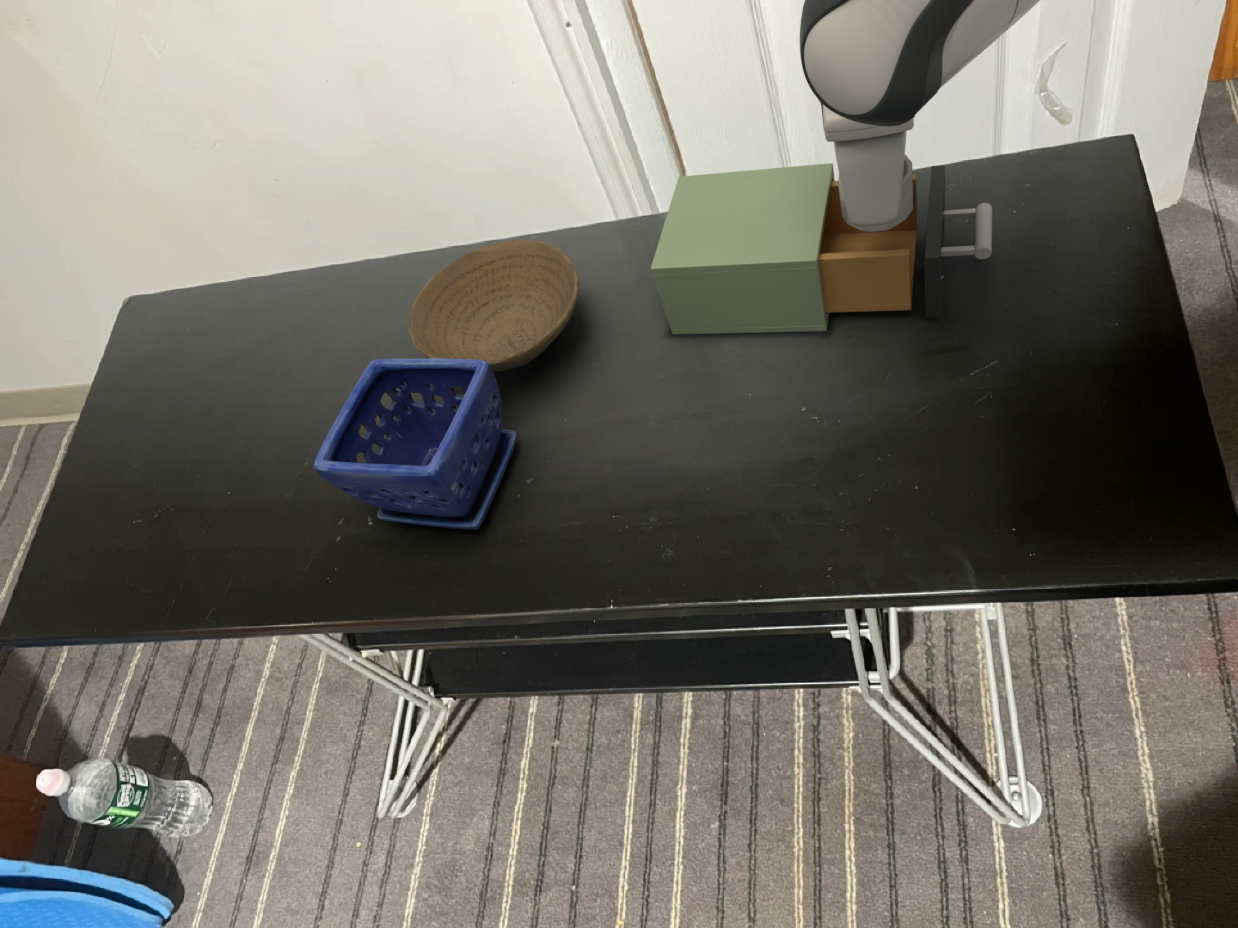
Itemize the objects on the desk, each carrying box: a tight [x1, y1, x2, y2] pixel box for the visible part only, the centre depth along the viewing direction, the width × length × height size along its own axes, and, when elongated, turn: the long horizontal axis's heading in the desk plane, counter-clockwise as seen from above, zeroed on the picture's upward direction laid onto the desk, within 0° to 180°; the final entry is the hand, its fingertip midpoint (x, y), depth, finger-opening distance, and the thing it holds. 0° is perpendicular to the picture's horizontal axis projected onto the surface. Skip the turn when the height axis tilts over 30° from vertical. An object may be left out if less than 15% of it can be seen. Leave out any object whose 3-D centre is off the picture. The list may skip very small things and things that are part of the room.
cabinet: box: [650, 162, 836, 335], centre depth 89 cm, size 16×14×9 cm
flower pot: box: [313, 357, 518, 531], centre depth 83 cm, size 13×13×12 cm
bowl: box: [407, 239, 580, 372], centre depth 94 cm, size 18×18×8 cm
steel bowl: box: [837, 154, 914, 232], centre depth 80 cm, size 6×6×4 cm
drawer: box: [818, 164, 993, 318], centre depth 84 cm, size 19×12×7 cm, turn 76°
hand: (877, 197), depth 80 cm, fingers closed on steel bowl, 6 cm apart
